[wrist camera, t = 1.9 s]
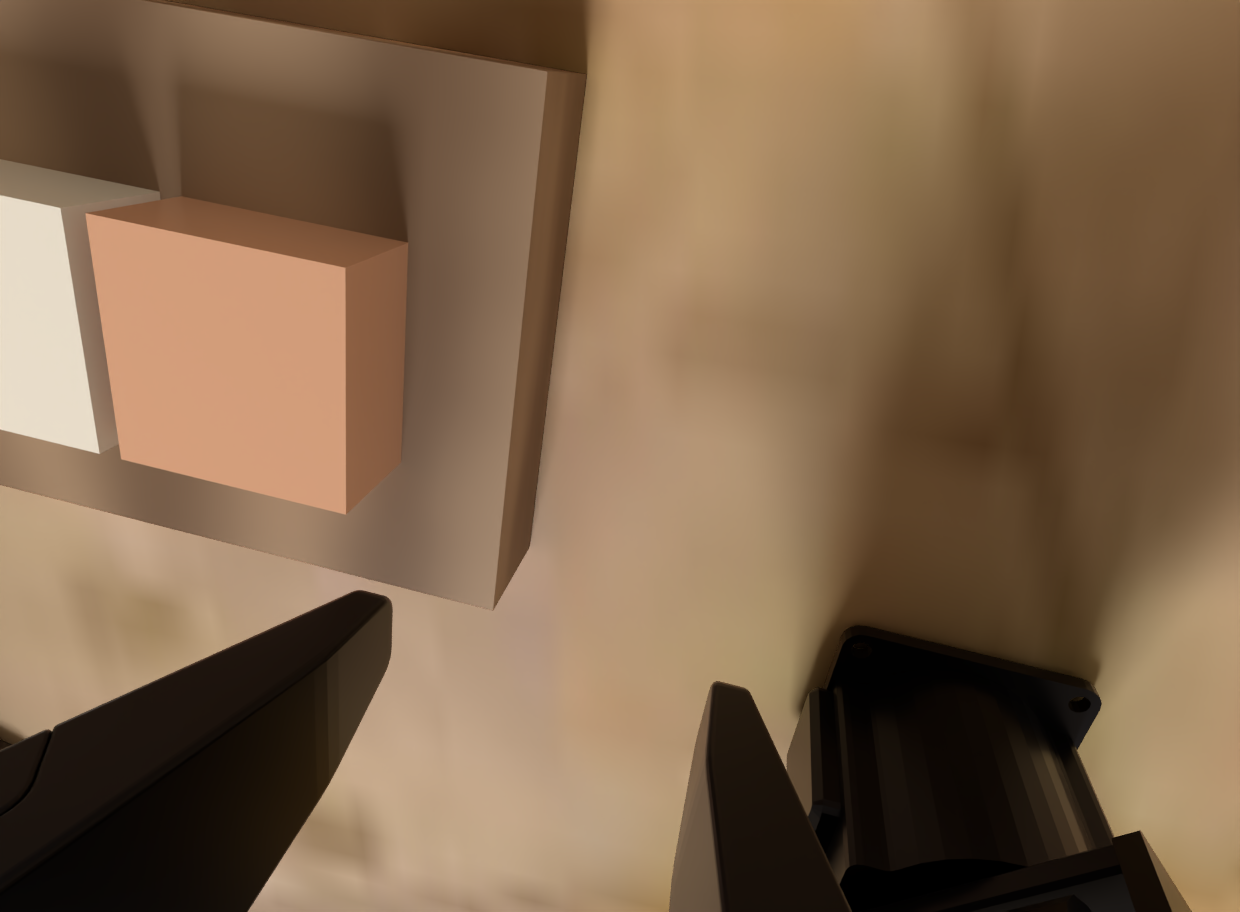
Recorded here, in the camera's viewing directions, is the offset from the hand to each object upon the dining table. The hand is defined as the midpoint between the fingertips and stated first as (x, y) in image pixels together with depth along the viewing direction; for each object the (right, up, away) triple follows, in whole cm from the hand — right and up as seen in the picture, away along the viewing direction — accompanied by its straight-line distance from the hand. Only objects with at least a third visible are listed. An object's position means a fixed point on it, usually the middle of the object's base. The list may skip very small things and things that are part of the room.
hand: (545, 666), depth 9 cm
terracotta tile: (-6, +5, +8) cm, 11 cm away
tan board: (-9, +7, +11) cm, 16 cm away
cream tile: (-11, +6, +9) cm, 16 cm away
